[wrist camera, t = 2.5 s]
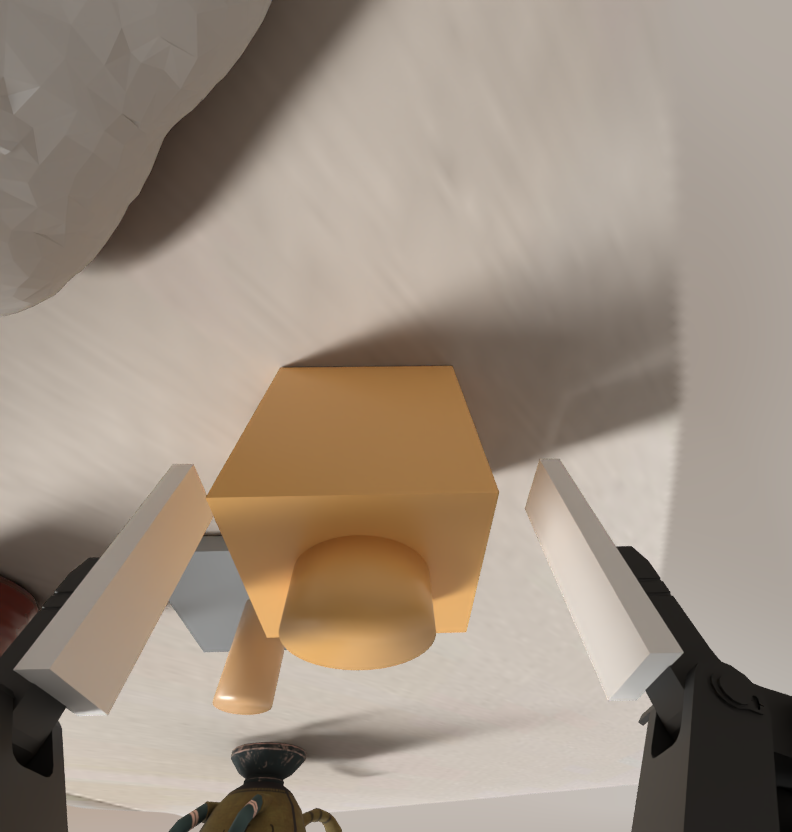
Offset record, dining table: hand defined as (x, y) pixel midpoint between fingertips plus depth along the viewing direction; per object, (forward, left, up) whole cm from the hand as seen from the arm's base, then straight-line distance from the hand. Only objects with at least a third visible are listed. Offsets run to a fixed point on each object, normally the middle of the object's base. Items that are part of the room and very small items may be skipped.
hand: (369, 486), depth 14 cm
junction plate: (+13, -7, -3) cm, 15 cm away
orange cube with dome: (0, 0, -3) cm, 3 cm away
